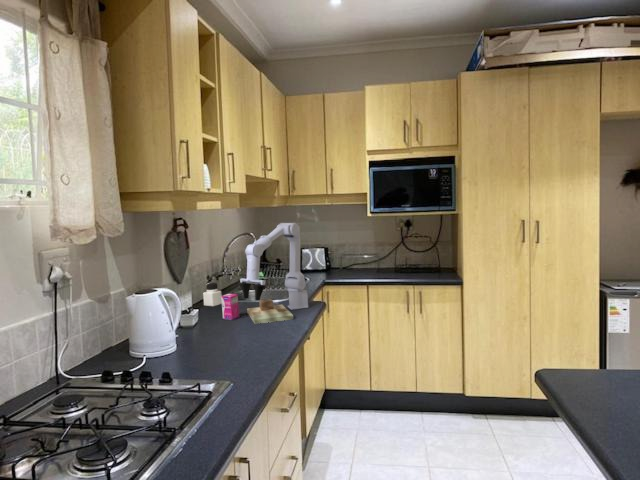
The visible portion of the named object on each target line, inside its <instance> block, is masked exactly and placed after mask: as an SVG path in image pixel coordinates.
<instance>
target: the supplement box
mask: <svg viewBox="0 0 640 480" xmlns="http://www.w3.org/2000/svg"><path fill="white" fill-rule="evenodd" d="M221 300H222V304H221V308H222V309H221V310H222V320H228V321H233V320H237V319H239V318H240V310H239V308H240V307H239V297H238V294H235V293H227V294H224V295H222V296H221Z"/></svg>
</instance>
